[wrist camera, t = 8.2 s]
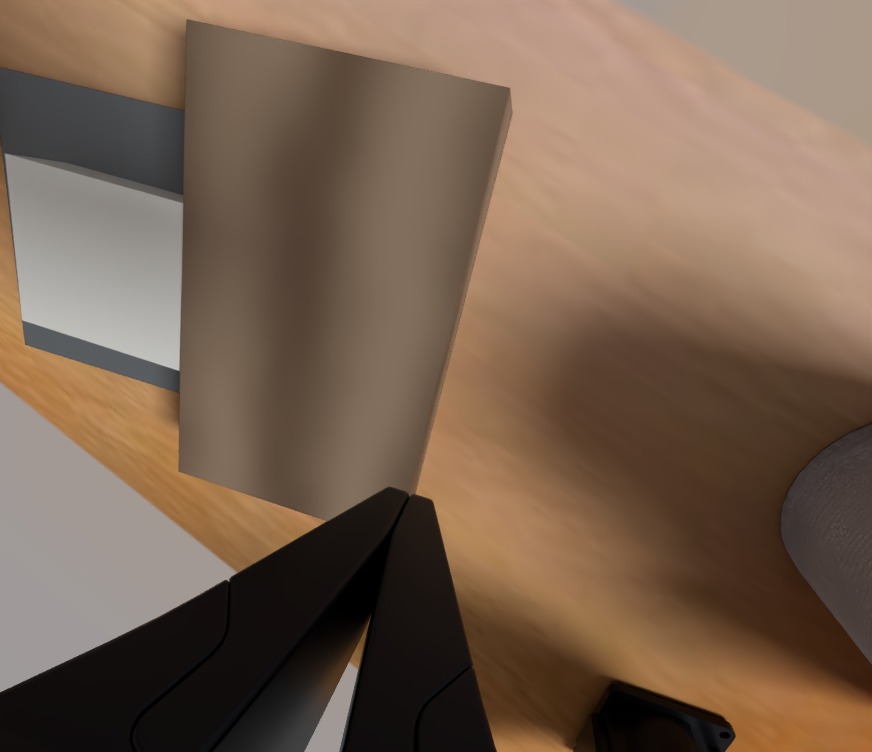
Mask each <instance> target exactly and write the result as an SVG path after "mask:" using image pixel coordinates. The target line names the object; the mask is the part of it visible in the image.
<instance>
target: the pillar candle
mask: <svg viewBox="0 0 872 752" xmlns="http://www.w3.org/2000/svg"><path fill="white" fill-rule="evenodd" d="M781 535H782V539H783V542H784V545H785V547H786V550H787V552H788V553H789V555H790V557H791V559H792V560H793V562H794V564H795V565H796V567H797V568H798V570H799V572H800V573H801V574H802V576H803V577H804V579H805V580H806V581H807V582H808V584H809V585H810V586H811V587H812V589H813V590H814V591H815V593H816V594H817V595H818V596H819V598H820V599H821V600H822V602H823V603H824V604H825V606H826V607H827V608H828V609H829V611H830V612H831V613H832V614H833V616H834V617H835V618H836V619H837V621H838V622H839V623H840V624H841V626H842V627H843V628H844V629H845V631H846V632H847V633H848V635H849V636H850V637H851V639H852V640H853V641H854V642H855V644H856V645H857V647H858V648H859V649H860V650H861V652H862V653H863V654H864V655H865V657H866V658H867V659H868V660H869V662H870V663H871V664H872V423H871V424H869V425H867V426H865V427H863V428H861V429H858V430H854V431H853V432H851V433H849V434H847V435H845V436H844V437H842V438H840V439H839V440H837V441H835V442H834V443H832V444H831V445H830V446H828V447H827V448H825V449H824V450H822V451H821V452H820V453H819V454H818V455H817V456H816V457H815V458H814V459H812V461H811V462H810V463H809V464H808V465H807V466H806V467H805V468H804V469H803V470H802V471H801V472H800V473H799V475H798V476H797V478H796V479H795V481H794V483H793V484H792V486H791V488H790V489H789V491H788V495H787V497H786V499H785V501H784V503H783V508H782V513H781Z"/></svg>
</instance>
